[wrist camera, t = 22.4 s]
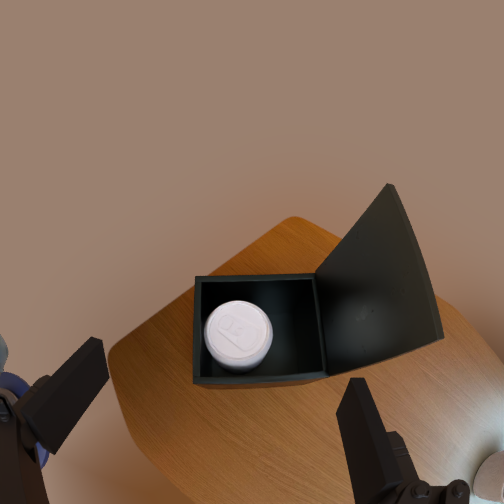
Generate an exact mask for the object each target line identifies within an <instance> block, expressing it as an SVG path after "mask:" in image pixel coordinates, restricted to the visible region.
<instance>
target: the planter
mask: <svg viewBox="0 0 504 504" xmlns="http://www.w3.org/2000/svg"><path fill="white" fill-rule="evenodd" d="M473 491H474V494H475V495H476V496H477V497H479V498H481V499H485V500H489V501H495V502H502V503H504V450H503V451H499V452H496V453H494V454H492V455H490V456H489V457H488V458H487V459H486V460H485V461H484V462H483V464H482V465H481V466H480V468H479V470H478V472H477V474H476V476H475V479H474V484H473Z"/></svg>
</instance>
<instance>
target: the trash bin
mask: <svg viewBox="0 0 504 504" xmlns="http://www.w3.org/2000/svg"><path fill="white" fill-rule="evenodd" d="M231 301H245V302H249V303H252V304H254V305H256V306H257V307H259V308H260V309H261V310H263V311H264V313H265V314H266V315H267V317H268V318H269V320H270V322H271V325H272V330H273V338H272V343H271V346H270V348H269V350H268V352H267V354H266V356H265V357H264V359H263V361H262V363H261V364H260V365H259V366H258V367H257V368H256V369H255V370H253V371H251V372H249V373H245V374H233V373H229V372H227V371H225V370H223V369H222V368H221V367H220V366H219V365H218V364H217V363H216V361H215V360H214V358H213V357H212V355H211V354H210V352H209V351H208V349H207V347H206V344H205V341H204V327H205V323H206V321H207V319H208V317H209V315H210V314H211V313H212V312H213V311H214V310H215V309H216V308H217V307H219V306H220V305H222V304H224V303H227V302H231ZM328 377H330V376H329V370H328V361H327V352H326V343H325V335H324V327H323V320H322V313H321V305H320V299H319V292H318V285H317V279H316V273H303V274H272V275H230V276H195V291H194V319H193V384H195V385H198V386H201V387H204V388H207V389H250V388H270V387H284V386H295V385H304V384H307V383H311V382H314V381H318V380H321V379H324V378H328Z"/></svg>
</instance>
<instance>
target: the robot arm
mask: <svg viewBox="0 0 504 504" xmlns="http://www.w3.org/2000/svg"><path fill="white" fill-rule="evenodd" d="M7 357H8V348H7V345H6V343H5V341H4V339H3V338H2V336H1V335H0V375H1V373H2V372H3V371H4V369H3V368H4V365H5V363H6V360H7ZM108 379H109V372H108V368H107V363H106V358H105V353H104V348H103V342H102V340H100V339H97V338H94V337H90V338H89V339H88V340H87V341H86V342H85V343H84V344H83V345H82V346H81V347H80V348H79V349H78V350H77V351H76V352H75V353H74V354H73V355H72V356H71V357H70V358H69V359H68V360H67V361H66V362H65V363H64V364H63V365H62V366H61V367H60V368H59V369H58V370H57V371H56V372H55V373H54V374H53V375H52V376H49V375H45V376H43V377H41V378H39V379H38V380H37V381H36V382H35V383H34V384H33V386H31V387H30V388H29V390H27V391H26V392H25V393H24V394H23V395H22V396H21V397H20V398H19V397H18V396H17V395H16V394H15V393H14V392H12V391H11V390H8V389H4V388H0V504H49V501H48V498H47V493H46V489H45V486H44V481H43V477H42V472H41V467H40V462H39V456H38V450H37V447H36V443H37V442H39V443H40V445H41V446H42V448H44V449H45V450H47V451H48V452H50V453H52V454H54V455H55V454H56V452H57V451H58V449H59V448H60V447H61V445H62V444H63V442H64V441H65V439H66V438H67V436H68V435H69V433H70V432H71V431H72V429H73V428H74V426H75V425H76V423H77V422H78V421H79V419H80V418H81V416H82V415H83V413H84V412H85V411H86V409H87V408H88V407H89V405H90V404H91V402H92V401H93V400H94V398H95V397H96V396H97V394H98V393H99V391H100V390H101V389H102V387H103V386H104V385H105V383H106V382H107V381H108ZM336 416H337V420H338V425H339V429H340V433H341V438H342V442H343V446H344V451H345V455H346V460H347V465H348V469H349V474H350V479H351V484H352V489H353V494H354V499H355V504H469V498H470V489H469V485H468V484H467V483H466V482H465V481H464V480H460V479H458V480H454V481H452V482H451V483H449V484H448V485H447V486H430V485H429V484H428V483H427V482H425V481H422V480H420V479H419V477H418V475H417V472H416V470H415V467H414V465H413V462H412V460H411V457H410V455H409V452H408V450H407V448H406V445H405V443H404V440H403V438H402V437H401V436H400V435H399V434H398V433H397V432H396V431H393V432H386V430H385V427H384V425H383V422H382V420H381V417H380V415H379V412H378V410H377V407H376V405H375V402H374V400H373V398H372V395H371V393H370V390H369V388H368V386H367V383H366V381H365V379H364V378H350V381H349V383H348V386H347V388H346V391H345V393H344V396H343V398H342V400H341V403H340V405H339V407H338V409H337V412H336Z"/></svg>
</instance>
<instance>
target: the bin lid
mask: <svg viewBox="0 0 504 504" xmlns="http://www.w3.org/2000/svg"><path fill="white" fill-rule="evenodd" d="M315 273H316V279H317V285H318V292H319V299H320V305H321V313H322V320H323V327H324V335H325V343H326V352H327V361H328V370H329V376H336V375H340V374H344V373H347V372H351V371H355V370H358V369H361V368H365V367H368V366H371V365H375V364H378V363H381V362H384V361H387V360H390V359H393V358H396V357H398V356H401V355H404V354H407V353H409V352H412V351H415V350H417V349H420V348H422V347H425V346H427V345H430V344H432V343H435V342H437V341H439V340H442V339H444V332H443V328H442V323H441V319H440V314H439V310H438V306H437V302H436V299H435V295H434V292H433V288H432V284H431V281H430V278H429V274H428V271H427V268H426V265H425V262H424V259H423V256H422V253H421V250H420V247H419V245H418V242H417V239H416V236H415V234H414V231H413V229H412V226H411V224H410V221H409V219H408V216H407V214H406V212H405V209H404V207H403V204H402V202H401V200H400V198H399V195H398V193H397V191H396V189H395V187H394V185H392V184H388V183H387V184H386V185H385V187H384V188H383V189H382V190H381V192H380V193H379V194H378V196H377V197H376V198H375V199H374V201H373V202H372V203H371V205H370V206H369V207H368V208H367V210H366V211H365V212H364V213H363V215H362V216H361V217H360V218H359V220H358V221H357V222H356V223H355V225H354V226H353V227H352V228H351V229H350V231H349V232H348V233H347V234H346V236H345V237H344V238H343V239H342V240H341V241H340V243H339V244H338V245H337V246H336V247H335V249H334V250H333V251H332V252H331V253H330V254H329V256H328V257H327V258H326V259H325V260H324V261H323V263H322V264H321V265H320V266H319V267H318V268H317V269H316V271H315Z"/></svg>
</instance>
